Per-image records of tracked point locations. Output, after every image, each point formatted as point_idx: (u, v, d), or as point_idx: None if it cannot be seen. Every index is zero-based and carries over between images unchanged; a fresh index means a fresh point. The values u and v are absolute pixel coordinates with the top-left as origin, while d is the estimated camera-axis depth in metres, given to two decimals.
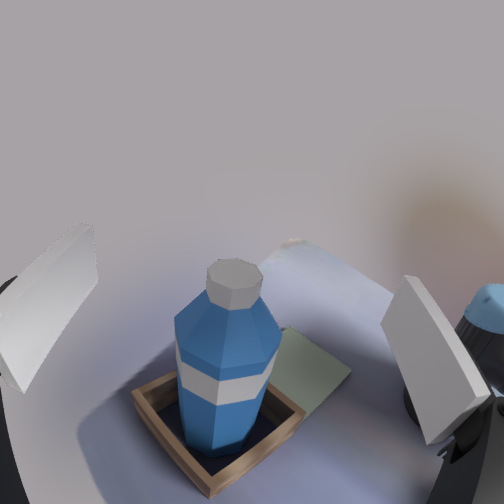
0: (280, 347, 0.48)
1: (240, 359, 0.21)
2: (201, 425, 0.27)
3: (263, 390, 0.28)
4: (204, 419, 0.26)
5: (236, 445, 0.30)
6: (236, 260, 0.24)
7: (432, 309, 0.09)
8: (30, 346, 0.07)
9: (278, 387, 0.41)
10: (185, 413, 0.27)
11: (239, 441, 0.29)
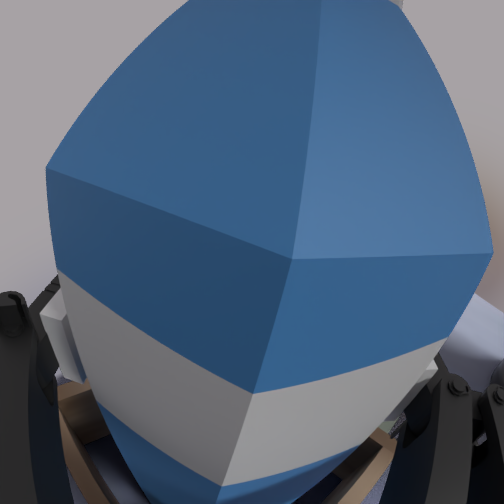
0: None
1: (422, 205, 0.03)
2: (174, 500, 0.08)
3: None
4: (181, 496, 0.07)
5: None
6: None
7: None
8: None
9: None
10: (131, 468, 0.08)
11: None
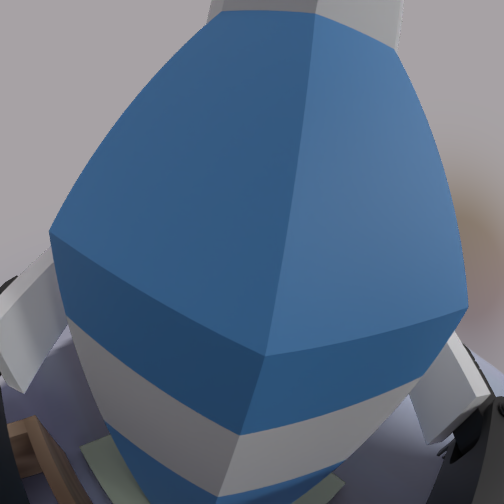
0: None
1: (392, 286, 0.03)
2: None
3: None
4: (181, 502, 0.07)
5: None
6: None
7: None
8: (30, 346, 0.07)
9: None
10: (135, 476, 0.09)
11: None
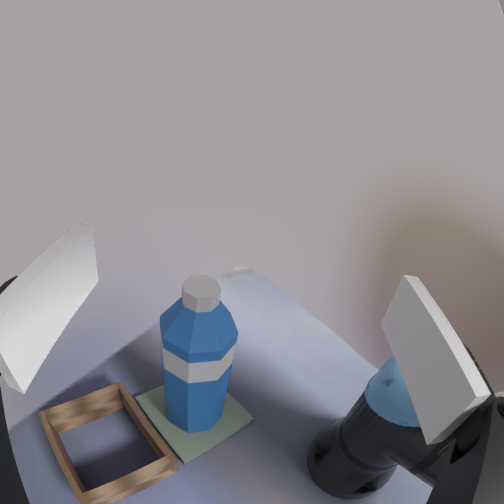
0: None
1: (203, 347, 0.30)
2: (178, 401, 0.35)
3: (226, 376, 0.36)
4: (180, 396, 0.34)
5: (207, 422, 0.38)
6: (204, 277, 0.33)
7: (432, 309, 0.09)
8: (30, 346, 0.07)
9: (171, 426, 0.39)
10: (166, 391, 0.35)
11: (209, 419, 0.38)
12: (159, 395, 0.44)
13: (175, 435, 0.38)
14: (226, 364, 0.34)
